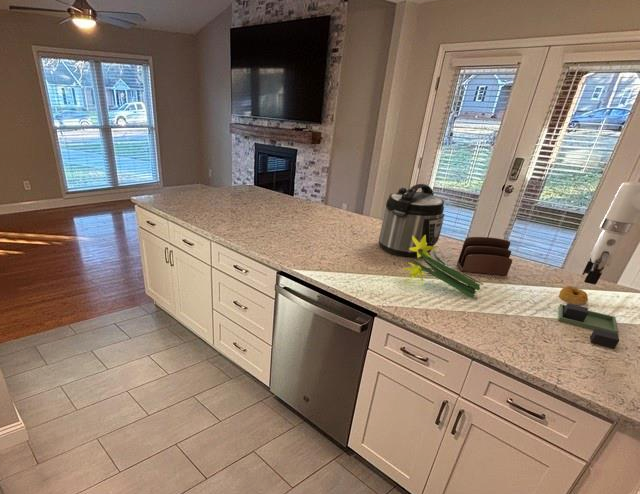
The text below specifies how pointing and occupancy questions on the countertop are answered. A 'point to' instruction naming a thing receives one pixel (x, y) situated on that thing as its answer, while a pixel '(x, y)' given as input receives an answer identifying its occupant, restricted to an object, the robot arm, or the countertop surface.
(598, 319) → the tray
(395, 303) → the countertop surface
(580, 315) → the seated pad
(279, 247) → the countertop surface
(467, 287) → the daffodil flowers
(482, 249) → the letter holder
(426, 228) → the pressure cooker
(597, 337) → the loose pad
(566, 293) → the bagel
